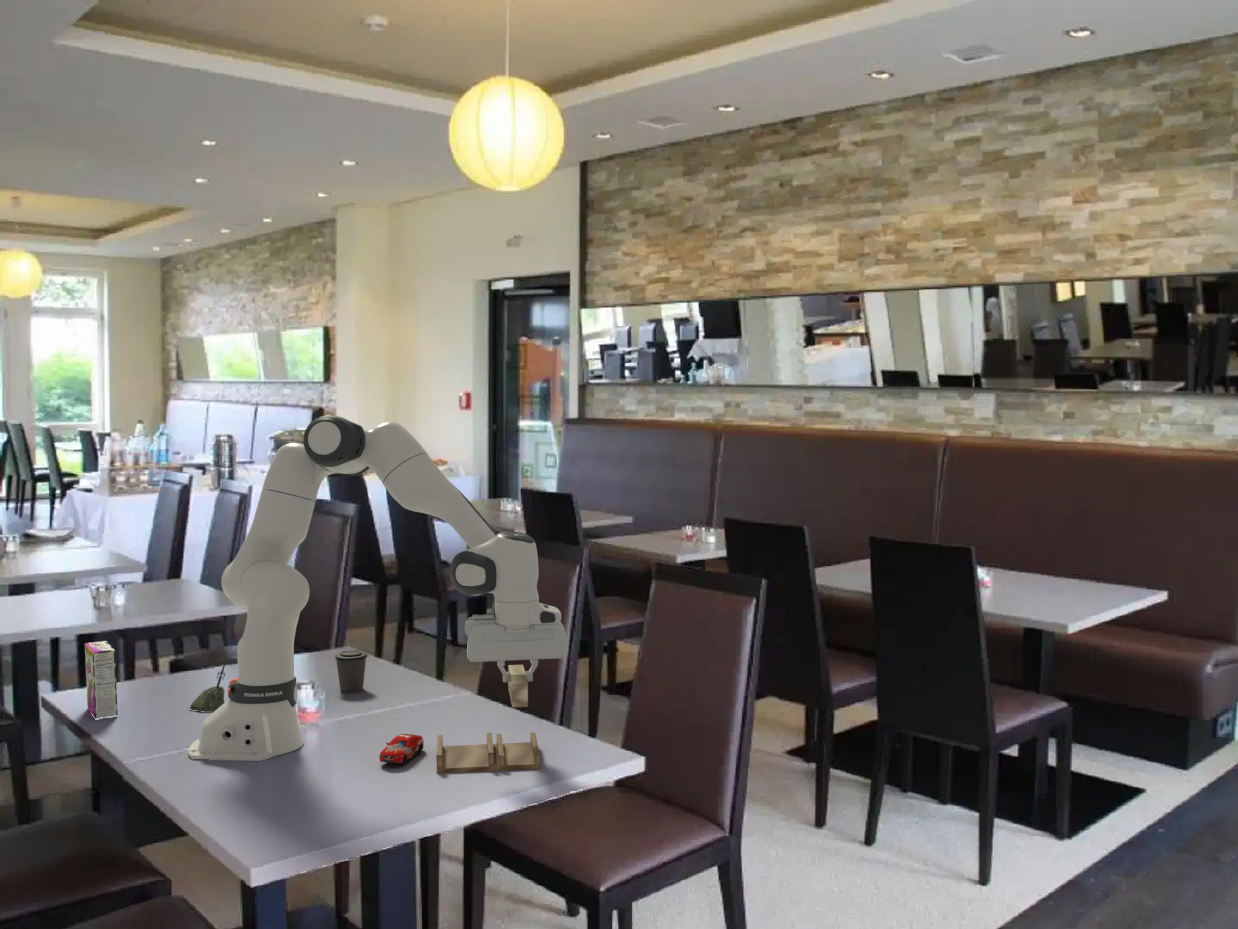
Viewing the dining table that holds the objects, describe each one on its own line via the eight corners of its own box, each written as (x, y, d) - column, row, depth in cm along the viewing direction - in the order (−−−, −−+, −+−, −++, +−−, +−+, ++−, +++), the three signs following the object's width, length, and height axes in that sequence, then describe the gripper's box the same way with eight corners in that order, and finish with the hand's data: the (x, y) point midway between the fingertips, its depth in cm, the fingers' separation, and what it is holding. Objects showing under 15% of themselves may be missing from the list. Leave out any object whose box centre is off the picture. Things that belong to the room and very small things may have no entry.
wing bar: (512, 707, 216) (512, 681, 216) (508, 689, 230) (508, 665, 230) (527, 706, 217) (527, 681, 217) (523, 688, 231) (523, 664, 230)
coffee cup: (334, 689, 278) (333, 649, 277) (367, 686, 280) (366, 647, 280) (335, 697, 270) (335, 656, 270) (370, 694, 273) (369, 654, 272)
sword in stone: (191, 719, 253) (189, 666, 252) (184, 710, 260) (183, 659, 259) (236, 712, 258) (235, 661, 258) (229, 704, 265) (227, 654, 264)
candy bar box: (85, 713, 257) (83, 643, 256) (109, 709, 260) (107, 640, 259) (94, 724, 248) (92, 652, 247) (118, 721, 251) (116, 649, 250)
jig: (436, 774, 215) (436, 756, 215) (438, 751, 229) (437, 734, 229) (540, 769, 218) (539, 751, 218) (535, 746, 232) (535, 730, 231)
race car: (400, 768, 217) (400, 747, 216) (374, 765, 218) (375, 745, 218) (428, 749, 229) (428, 730, 229) (403, 747, 231) (404, 727, 231)
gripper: (464, 618, 218) (465, 687, 219) (568, 614, 221) (569, 683, 222) (464, 612, 224) (465, 679, 225) (565, 608, 227) (566, 675, 228)
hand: (517, 681), depth 224 cm, fingers closed on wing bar, 3 cm apart
